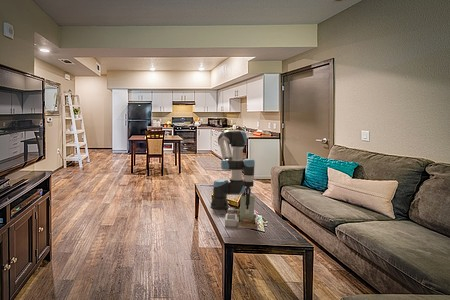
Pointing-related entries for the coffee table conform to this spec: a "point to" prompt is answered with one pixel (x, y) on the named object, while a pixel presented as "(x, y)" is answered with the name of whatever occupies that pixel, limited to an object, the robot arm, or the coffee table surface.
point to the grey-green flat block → (251, 208)
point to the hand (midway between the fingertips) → (246, 211)
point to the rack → (246, 225)
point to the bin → (231, 220)
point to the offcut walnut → (246, 222)
